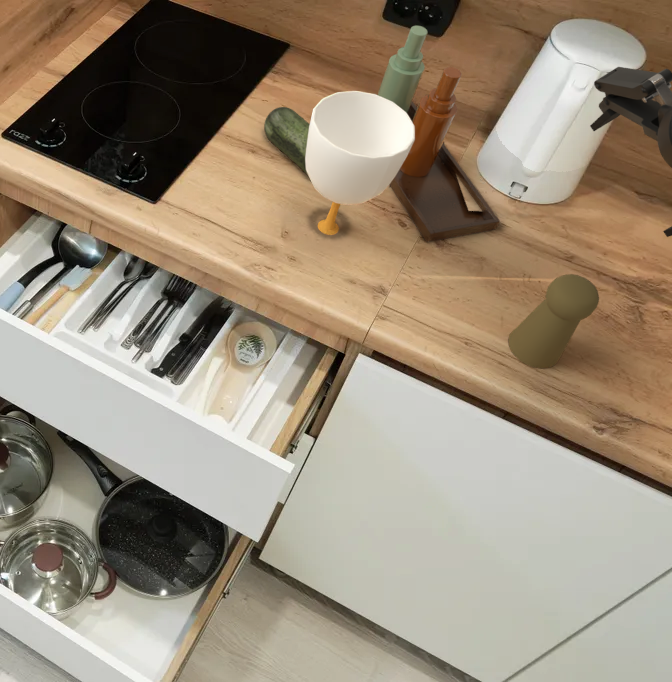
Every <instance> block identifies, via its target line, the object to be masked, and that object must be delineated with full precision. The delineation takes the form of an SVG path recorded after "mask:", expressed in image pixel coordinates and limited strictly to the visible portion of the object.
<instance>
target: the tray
mask: <svg viewBox="0 0 672 682" xmlns="http://www.w3.org/2000/svg"><path fill="white" fill-rule="evenodd" d="M417 107H418V106H417V105H416V104H415V103H414V101H413V100H412V102H411V105H410V107H409V110H408V113H407V114H408V116H409V118H410V119H411V121H412V120H413V117H414V115H415V112H416V110H417ZM458 179H459V180H460V182H461V183H462V184H463V186H464V187H465V189H466V190H467V192H468V193H469V194H470V196H471V197H472V199H474V201H475V203H476V204H477V205H478V206H479V208H480V209H481V210H469V208H468V205H467V202H466V200H465V196H464V194H463V190H462V188H461V184H460V182H459V180H458ZM389 187H390V188H391V190H392V192H393V193H394V194H395V196H396V197H397V198H398V201H399V202H400V203H401V205H402V207H403V208H404V210H405V212H406V213H407V215H408V216H409V217H410V219H411V220H412V222H413V224H414V225H415V227H416V228H417V230H418V231H419V233H420V235H421V236H422V238H423V239H424V241H425V242H426V243H430V242H436V241H441V240H445V239H452V238H457V237H463V236H467V235H472V234H479V233H483V232H489V231H495V230H496V229H497V227H498V226H499V224H500V222H501V220H500V219H499V218H498V216H497V215H496V213H495V212H494V211H493V209H492V208H491V206H490V205H489V204H488V203H487V201H486V200H485V198H484V197H483V195H482V194H481V193H480V192H479V190H478V189H477V187H476V186H475V185H474V183H473V182H472V181H471V179H470V178H469V177H468V175H467V173H465V171H464V170H463V168H462V167H461V165H460V164H459V162H458V161H457V160H456V159H455V157H454V155H452V153H451V152H450V150H449V149H448V148H447V146H446V145H445V144H444V143H443V144H442V146H441V148H440V151H439V153H438V155H437V157H436V160H435V162H434V164H433V166H432V168H431V171H430V172H429V174H427V175H426V176H423V177H413V176H409V175H407V174H405V173H403V172H402V171H401V170H400V169H399V171H398V173H397V174H396V176H395V177H394V179H393V180H392V182H391V183H390V184H389Z"/></svg>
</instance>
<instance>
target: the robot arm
mask: <svg viewBox="0 0 672 682" xmlns="http://www.w3.org/2000/svg"><path fill="white" fill-rule="evenodd" d="M671 82H672V71H671V70H670V69H668V68H664V69H662V70H661V71H658V72H654V71H648V70H641V69H636V68H631V67H630V68H629V67H623V66H617V67H615V68H614V69H612V70H610V71H609V72H607V73H605V74H604V75H603V76H600V77H599V78H598V79H596V80H595V81H594V82H593V85H594V87H595V90H597V91H598V92H599V93H604V94H605V95H604V97H603V98H602V100H601V101H600V102H599V103H598V108H599V110H600V111H601V113H602V114H601V115H599V117H598V118H597V119H596V120H594V121H593V122H592V123H591V124H590V125H589V127H590V128H591V130H592V132H596V131H597V130H599V129H600V128H602V127H604V126H606V125H607V124H609V123H610V122H612V121H614V120H615V119H617V118H619V116H622V117H624V118H625V119H628V120H629V121H630V122H633V123H635V124H636V125H638V126H640V127H642V131H643V134H644V135H646V136H647V137H649V138H650V139H653V140H654V141H656V142H657V146H658V151H659V153H660V155H661V157H662V159H663V160H664V162H665V163H666V164H667V165H668V166H669V167H670V168H671V169H672V90H671V88H672V83H671ZM662 232H663V234H664V235H665V236H666V237H667V238H669V237H672V225H671V226H669V227H668V228H665V229H664V230H663V231H662Z"/></svg>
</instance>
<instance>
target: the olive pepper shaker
mask: <svg viewBox="0 0 672 682" xmlns="http://www.w3.org/2000/svg"><path fill="white" fill-rule="evenodd" d="M544 297H545V298H544V300H543V301H542V302H540V304H539V305H537V307H536V308H535V309H534V310H533V311H531V313H529V315H528V316H527V317H525V318H524V320H522V321H521V323H520V324H518V325H517V326H516V327H515V328H514V329H513V330H512V331H511V332H510V333H509V335H508V336H509V337H508V339H507V341H508V348H509V349H510V351H511V353H512V354H513V355H514V357H515V358H516V359H517V360H519V361H520V362H522V363H523V364H524V365H526V366H529V367H532V368H537V369H550V368H551V367H553V366H556V364H558V362H559V361H560V359H561V357H562V355H563V354H564V352H565V350H566V348H567V346H568V344H569V343H570V341H571V338H572V337H573V335H574V333H575V331H576V329H577V327H578V326H579V324H580V322H581V321H582V320H584V319H587V318H589V317H590V316H591V315H592V314H593V313H594V312H595V310H596V309H597V308H598V306H599V302H600V295H599V291H598V289H597V287H596V286H595V284H593V283H592V282H591V280H589V279H587V278H586V277H584V276H581V275H578V274H575V273H574V274H573V273H567V274H563V275H560V276H558V277H556V278H555V279H554V280H553V281H551V282H550V284H549V285H548V286H547V290H546V292H545V295H544Z"/></svg>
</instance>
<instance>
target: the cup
mask: <svg viewBox="0 0 672 682" xmlns="http://www.w3.org/2000/svg"><path fill="white" fill-rule="evenodd" d="M309 124H310V125H309V131H308V139H307V147H306V156H305V163H306V171H307V173H308V175H307V176H308V177H309V180H310V182H311V184H312V186H313V188H314V190H315V191H317V192H318V194H320V195H321V196H322V198H325V199H326V200H329V201H331V206H330V209H329V211H328V214H327V216H326V218H325V219H321V220H320V221H318V223H317V228H318V230H319V231H320V232H321V233H322V234H324V235H328V236H332V235H336V234H337V233H338V232H339V231H340V227H339V225H338V224H337V222H336V220H337V216H338V212H339V209H340V207H341V205H345V206H354V205H362V204H364V203H367V202H369V201H370V200H373V199H375V198H377V197H378V196H380V195H382V194H383V193H384V192H385V190H386V189H387V188H388V187H390V185H389V184H390V183H391V182H392V180H393V179H394V177H395V176H396V174H397V173H398V171H399V169H400V168H401V166H402V164H403V162H404V161H405V159H406V157H407V155H408V153H409V151H410V149H411V147H412V145H413V143H414V141H415V126H414V124H413V123H412V121H411V119H410V118H409V116H408V114H407V113H406V112H405V111H404V110H402V109H401V108H400V107H399V106H397V105H396V104H395V103H394V102H392V101H390V100H387V99H385V98H383V97H380V96H378V95H377V94H376V93H370V92H365V91H358V90H348V91H337V92H334V93H332V94H330V95H327V96H325V97H323V98H321V100H319V101H318V103H317V104H316V105H315V106H314V108H312V113H311V117H310V121H309Z"/></svg>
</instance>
